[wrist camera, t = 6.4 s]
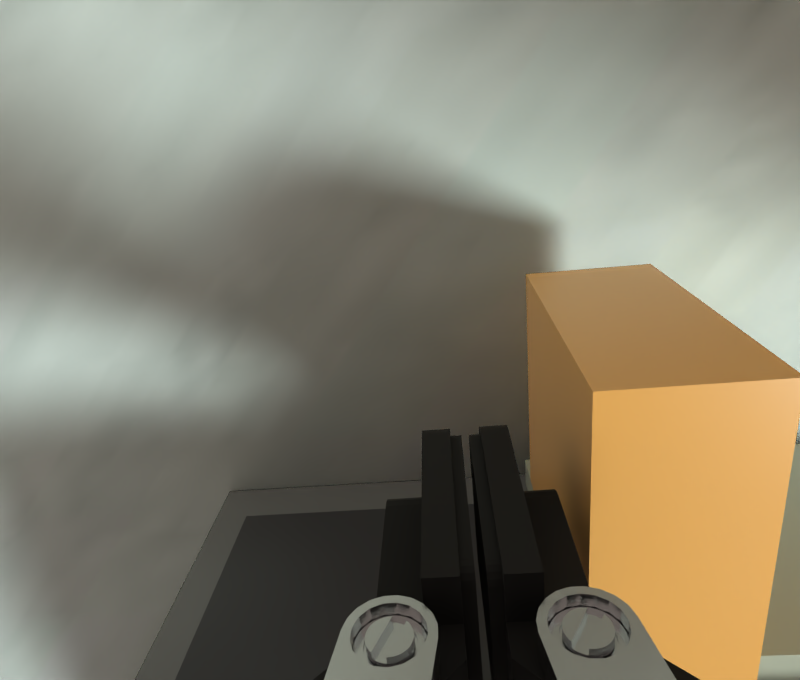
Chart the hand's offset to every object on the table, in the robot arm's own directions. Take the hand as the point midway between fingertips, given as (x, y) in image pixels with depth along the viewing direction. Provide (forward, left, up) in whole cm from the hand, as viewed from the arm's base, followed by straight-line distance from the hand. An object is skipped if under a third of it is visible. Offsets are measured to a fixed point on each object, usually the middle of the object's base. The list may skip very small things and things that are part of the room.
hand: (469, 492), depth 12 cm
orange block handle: (-6, 0, -6) cm, 8 cm away
